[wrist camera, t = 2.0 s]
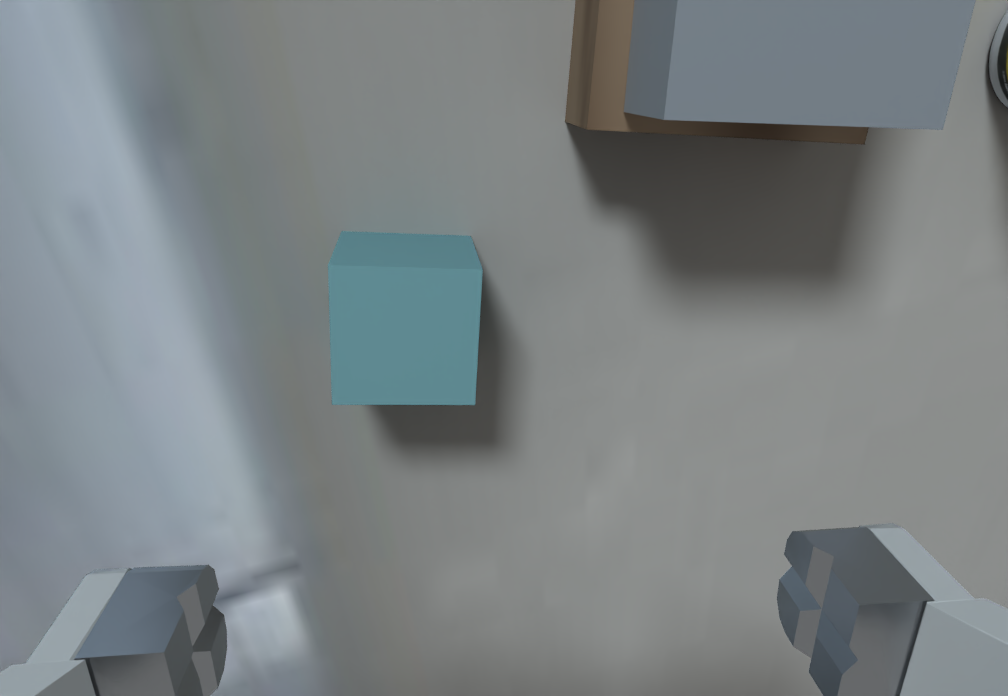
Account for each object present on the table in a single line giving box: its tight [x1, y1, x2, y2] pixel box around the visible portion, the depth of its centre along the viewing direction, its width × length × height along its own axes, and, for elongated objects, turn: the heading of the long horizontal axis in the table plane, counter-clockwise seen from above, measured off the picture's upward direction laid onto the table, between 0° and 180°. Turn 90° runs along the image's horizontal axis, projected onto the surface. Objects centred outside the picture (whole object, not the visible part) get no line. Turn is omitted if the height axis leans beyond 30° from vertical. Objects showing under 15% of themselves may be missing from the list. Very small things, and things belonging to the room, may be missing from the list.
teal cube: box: [328, 231, 483, 405], centre depth 26 cm, size 5×5×5 cm
